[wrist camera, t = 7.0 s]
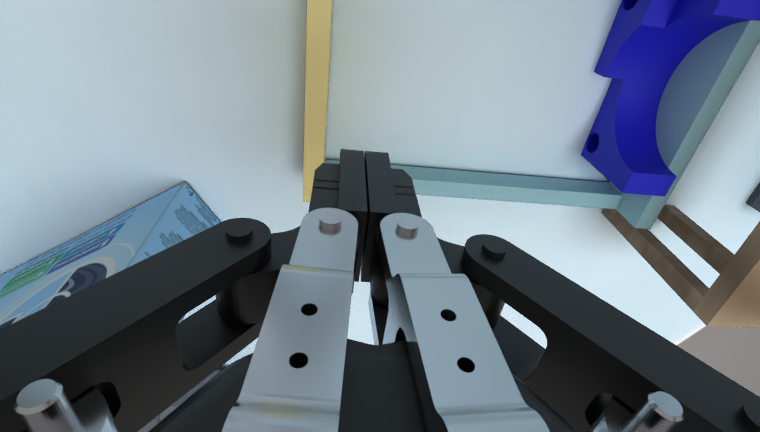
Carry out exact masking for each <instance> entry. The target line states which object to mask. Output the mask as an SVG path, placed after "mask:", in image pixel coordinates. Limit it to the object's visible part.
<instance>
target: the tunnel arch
mask: <svg viewBox="0 0 760 432" xmlns="http://www.w3.org/2000/svg"><path fill="white" fill-rule="evenodd" d="M602 214H603V215H604V216H605V217H606V218H607V219H608V220H609V221H610V222H611V223H612V224H613V226H614V227H615V228H616V229H617V230H618V231H619V232H620V233H621V234H622V235H623V236H624V237H625V238H626V240H627V241H628V242H629V243H630V244H631V245H632V246H633V247H634V248H635V249H636V250H637V251H638V252H639V254H640V255H641V256H642V257H643V258H644V259H645V260H646V261H647V262H648V263H649V264H650V265H651V266H652V268H653V269H654V270H655V271H656V272H657V273H658V274H659V275H660V276H661V277H662V278H663V279H664V280H665V282H666V283H667V284H668V285H669V286H670V287H671V288H672V289H673V290H674V291H675V292H676V293H677V294H678V296H679V297H680V298H681V299H682V300H683V301H684V302H685V303H686V304H687V305H688V306H689V307H690V308H691V310H692V311H693V312H694V313H695V314H696V315H697V316H698V317H699V318H700V319H701V320H702V321H703V322H704V324H705V325H706V326H719V327H746V328H760V222H759V223H758V224H757V226H756V227H755V228H754V230H753V231H752V232H751V234H750V235H749V236H748V238H747V239H746V240H745V242H744V243H743V244H742V246H741V247H740V248H739V250H738V251H737V252H736V254H735V255H734V254H733V253H732V252H730V251H729V250H728V249H727V248H725V247H724V246H723V245H722V244H721V243H719V242H718V241H717V240H716V239H714V238H713V237H712V236H711V235H709V234H708V233H707V232H706V231H705V230H703V229H702V228H701V227H700V226H698V225H697V224H696V223H695V222H694V221H692V220H691V219H690V218H689V217H687V216H686V215H685V214H684V213H682V212H681V211H680V210H679V209H678V208H676V207H675V206H669V205H664V206H663V208H662V210H661V211H660V213H659V215H658V217H657V218H658V219H659V220H660V221H662V222H663V223H664V224H665V225H666V226H667V227H668V228H669V229H670V230H672V231H673V232H674V233H675V234H676V235H677V236H678V237H679V238H680V239H682V240H683V241H684V242H685V243H686V244H687V245H688V246H689V247H690V248H692V249H693V250H694V251H695V252H696V253H697V254H698V255H699V256H700V257H702V258H703V259H704V260H705V261H706V262H707V263H708V264H709V265H711V266H712V267H713V268H714V269H715V270H716V271H717V272H718V273H719V274H720V275H719V277H718V278H717V279H716V281H715V282H714V283H713V285H712V286H711V287H710V289H709V288H708V287H707V286H706V285H705V284H704V283H703V282H702V281H701V280H700V279H699V278H698V277H697V276H696V275H695V274H694V273H692V272H691V271H690V270H689V269H688V268H687V267H686V266H685V265H684V264H683V263H682V262H681V261H680V260H679V259H678V258H677V257H676V256H675V255H674V254H673V253H672V252H671V251H670V250H669V249H668V248H667V247H666V246H665V245H663V244H662V243H661V242H660V241H659V240H658V239H657V238H656V237H655V236H654V235H653V234H652V233H651V232H650V231H649V230H648V229H642V228H634V227H633V226H632V225H631V224H630V223H629V222H628V221H627V220H626V219H625V218H624V217H623V216H622V215H621V214H620V213H619V212H618V211H617V210H616V209H608V208H604V210H603V212H602Z"/></svg>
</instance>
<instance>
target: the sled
mask: <svg viewBox="0 0 760 432" xmlns="http://www.w3.org/2000/svg"><path fill="white" fill-rule="evenodd" d="M332 17H333V0H307V33H306V77H305V122H304V166H303V201H304V202H310V200H311V193H312V186H313V181H314V173H315V170H316V169H317V168H318V167H319V166H320V165H321V164H322V163H332V164H340V161H337V160H325V148H326V129H327V110H328V92H329V73H330V54H331V35H332ZM759 41H760V21H744V22H739V23H735V24H732V25H729V26H726V27H724V28H722V29H720V30H718V31H716V32H714V33H713V34H711V35H709V36H708V37H707V38H705V39H704V40H702V41H701V42H700V43H699V44H698V45H696V46H695V47H694V48H693V49H692V50H691V51H690V52H689V53H688V54H687V55H686V56H685V58H684V59H683V60H682V61H681V62H680V64H679V65H678V66H677V68H676V69H675V71H674V72H673V74H672V76H671V77H670V79H669V81H668V83H667V85H666V87H665V89H664V92H663V94H662V97H661V100H660V103H659V107H658V111H657V117H656V141H657V146H658V150H659V153H660V155H661V157H662V159H663V161H664V163H665V164H666V166H667V167H668V168H669V169H670V170H671V172H672V173H674V174H675V175H676V176H677V177H676V178H675V180H674V182H673V184H672V185H671V187H670V189H669V191H668V192H667V194H666V196H653V195H641V194H628V193H622V192H621V191H620V190H619V189H618V188H617V187H616V186H614V185H613V184H612V183H611V182H609V183H607V182H595V181H583V180H571V179H558V178H546V177H534V176H521V175H509V174H497V173H484V172H472V171H460V170H448V169H435V168H423V167H411V166H398V165H390V166H391V168H393V169H403V170H404V171H405V172H406V173H407V174H408V175H409V176H410V177H411V178H412V181H413V185H414V189H415V193H416V195H430V196H444V197H457V198H471V199H485V200H498V201H512V202H526V203H539V204H553V205H567V206H580V207H594V208H608V209H616V210H617V211H618V212H619V213H620V214H621V215H622V216H623V217H624V218H625V219H626V220H627V221H628V222H629V223H630V224H631V225H632V226H633V227H634V228H642V229H651V227H652V225H653V223H654V222H655V220H656V218H657V217H658V215H659V213H660V211H661V210H662V208H663V206H664V205H665V203H666V201H667V199H668V198H669V196H670V194H671V192H672V191H673V189H674V187H675V186H676V184H677V182H678V180H679V179H680V177H681V175H682V174H683V172H684V170H685V168H686V167H687V165H688V163H689V161H690V160H691V158H692V156H693V155H694V153H695V151H696V149H697V148H698V146H699V144H700V143H701V141H702V139H703V137H704V136H705V134H706V132H707V130H708V129H709V127H710V125H711V124H712V122H713V120H714V118H715V117H716V115H717V113H718V112H719V110H720V108H721V106H722V105H723V103H724V101H725V99H726V98H727V96H728V94H729V93H730V91H731V89H732V87H733V86H734V84H735V82H736V81H737V79H738V77H739V75H740V74H741V72H742V70H743V68H744V67H745V65H746V63H747V62H748V60H749V58H750V56H751V55H752V53H753V51H754V50H755V48H756V46H757V44H758V43H759Z"/></svg>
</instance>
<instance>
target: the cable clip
mask: <svg viewBox="0 0 760 432" xmlns="http://www.w3.org/2000/svg"><path fill="white" fill-rule="evenodd" d="M744 21H760V0H622V2H621V4H620V7H619V9H618V12H617V15H616V17H615V20H614V22H613V25H612V27H611V30H610V32H609V35H608V37H607V40H606V43H605V45H604V48H603V50H602V53H601V55H600V58H599V60H598V63H597V66H596V68H595V71H594V72H596V73H597V74H599V75H601V76H603V77H609V78H613V79H612V81H611V84H610V86H609V89H608V91H607V93H606V96H605V98H604V100H603V103H602V105H601V108H600V110H599V112H598V115H597V117H596V119H595V122H594V124H593V127H592V129H591V131H590V134H589V136H588V139H587V141H586V143H585V146H584V148H583V150H582V153H581V155H582V156H583V157H584V158H585V159H586V160H587V161H588V162H590V163H591V164H592V165H593V166H594V167H595V168H596V169H597V170H598V171H599V172H600V173H601V174H603V175H604V176H605V177H606V178H607V179H608V180H609V181H610V182H611V183H612V184H613V185H614V186H616V187H617V188H618V189H619V190H620V191H621V192H622V193H628V194H641V195H653V196H666V194H667V192H668V191H669V189H670V187H671V185H672V184H673V182H674V180H675V178H676V177H677V176H676V175H675V174H674V173H672V172H671V170H670V169H669V168H668V167H667V166H666V164H665V163H664V161H663V159H662V157H661V155H660V153H659V150H658V146H657V141H656V117H657V111H658V107H659V103H660V100H661V97H662V94H663V92H664V89H665V87H666V85H667V83H668V81H669V79H670V77H671V76H672V74H673V72H674V71H675V69H676V68H677V66H678V65H679V64H680V62H681V61H682V60H683V59H684V58H685V56H686V55H687V54H688V53H689V52H690V51H691V50H692V49H693V48H694V47H695V46H696V45H698V44H699V43H700V42H701V41H702V40H704V39H705V38H707V37H708V36H709V35H711V34H713V33H714V32H716V31H718V30H720V29H722V28H724V27H726V26H729V25H732V24H735V23H739V22H744Z"/></svg>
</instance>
